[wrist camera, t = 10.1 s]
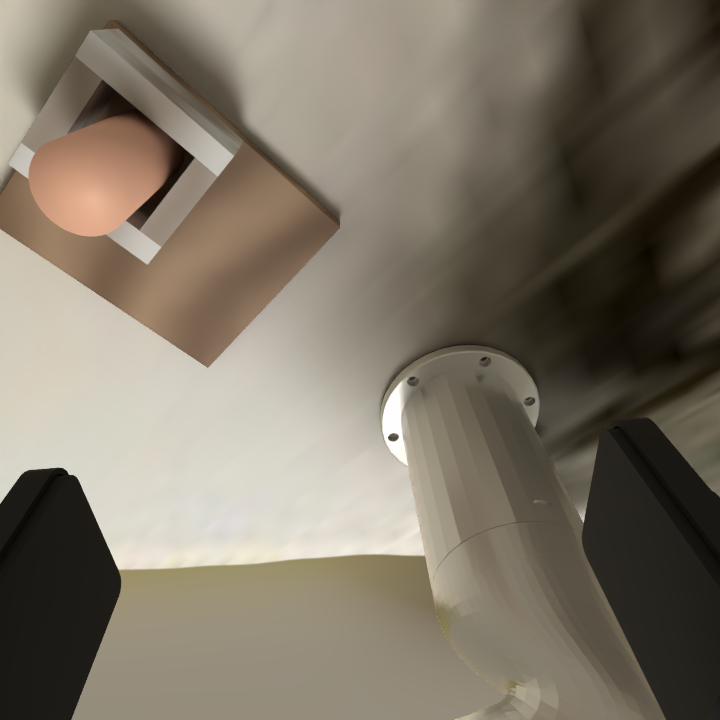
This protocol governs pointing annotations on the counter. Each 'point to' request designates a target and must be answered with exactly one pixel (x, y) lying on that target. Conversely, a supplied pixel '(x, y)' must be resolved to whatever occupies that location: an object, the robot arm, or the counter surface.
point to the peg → (102, 172)
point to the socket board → (172, 205)
